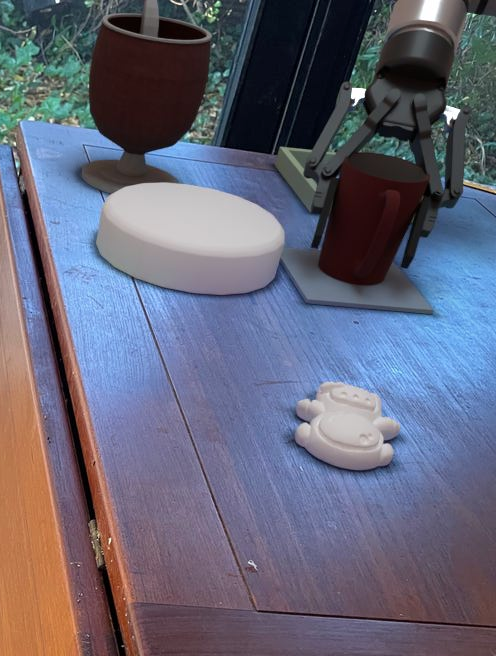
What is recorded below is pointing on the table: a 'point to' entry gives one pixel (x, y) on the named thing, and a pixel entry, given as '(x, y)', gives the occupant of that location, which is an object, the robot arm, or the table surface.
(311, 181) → the green rectangular frame
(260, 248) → the container
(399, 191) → the mug
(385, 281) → the mat
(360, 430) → the astronaut figurine
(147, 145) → the mate gourd
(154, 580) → the table surface
